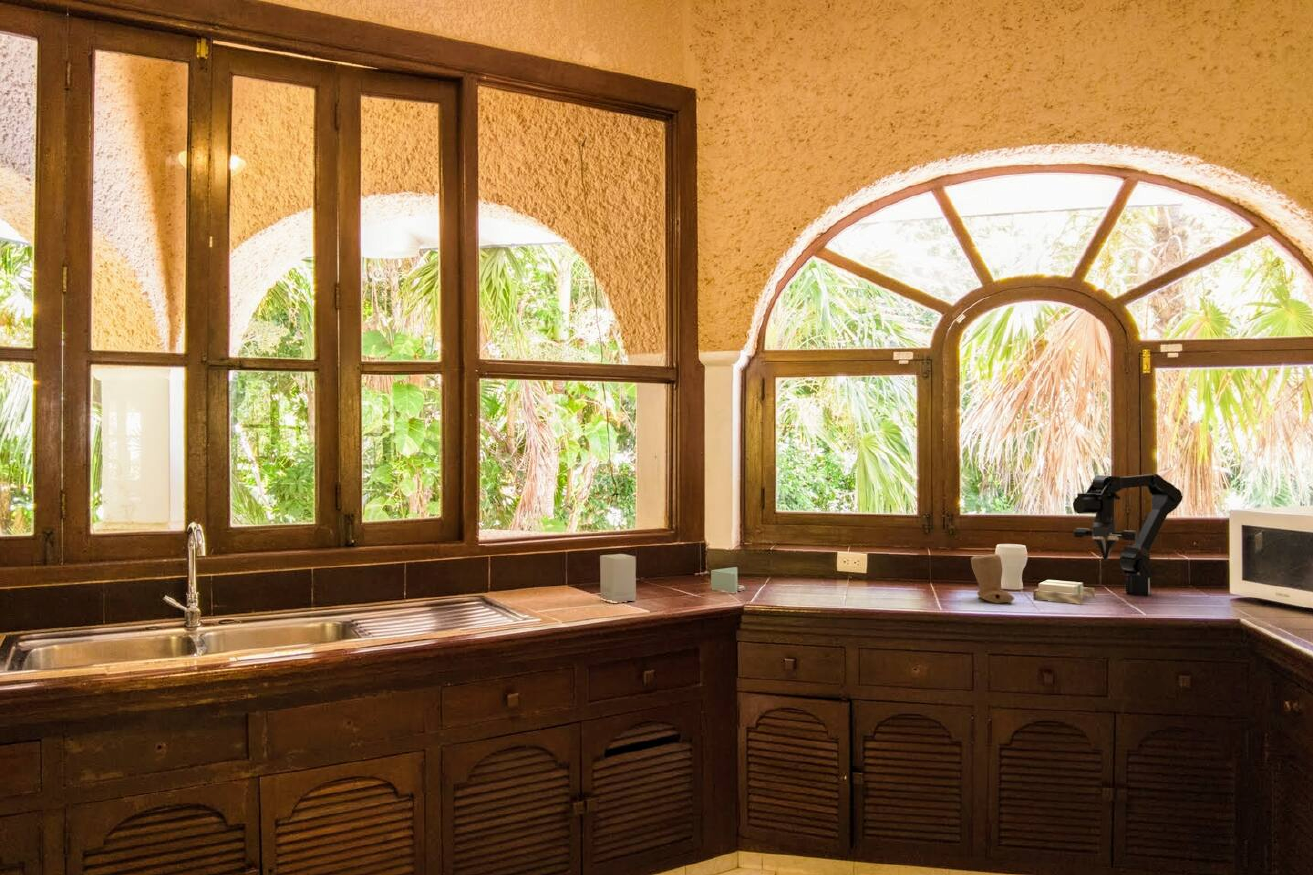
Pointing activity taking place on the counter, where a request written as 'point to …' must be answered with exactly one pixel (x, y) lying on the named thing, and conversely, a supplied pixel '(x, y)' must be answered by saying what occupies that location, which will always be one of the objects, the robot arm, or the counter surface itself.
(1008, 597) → the brown boot
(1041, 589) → the carton
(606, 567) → the supplement box
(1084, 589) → the tan tray
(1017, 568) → the cup
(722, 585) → the sage green wedge block
